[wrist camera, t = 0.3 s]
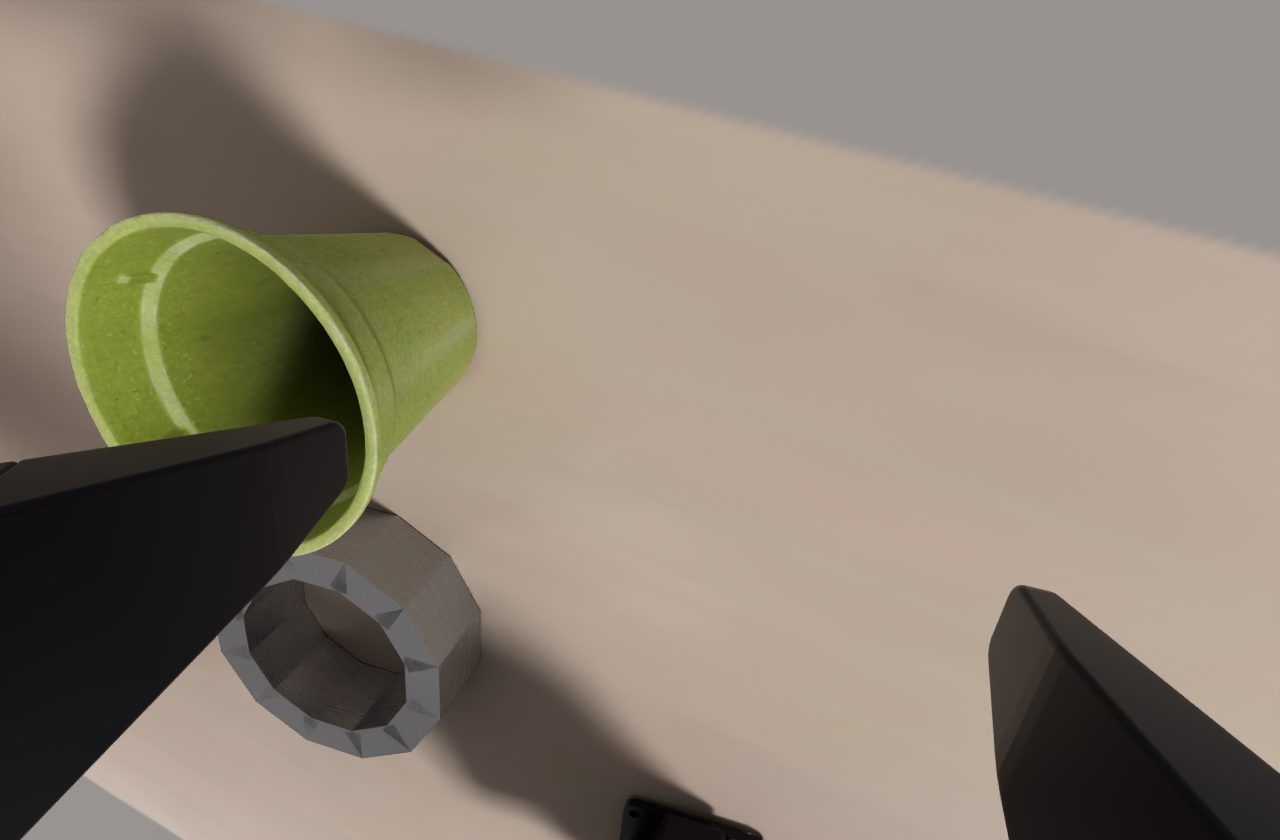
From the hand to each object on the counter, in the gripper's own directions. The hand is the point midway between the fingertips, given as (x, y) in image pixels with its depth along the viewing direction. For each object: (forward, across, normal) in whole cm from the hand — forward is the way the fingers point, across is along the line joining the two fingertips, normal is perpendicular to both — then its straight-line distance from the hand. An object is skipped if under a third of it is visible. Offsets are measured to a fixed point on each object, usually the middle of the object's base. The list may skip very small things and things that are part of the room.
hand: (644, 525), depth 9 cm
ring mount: (+14, +14, +17) cm, 27 cm away
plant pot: (+15, +13, +3) cm, 20 cm away
